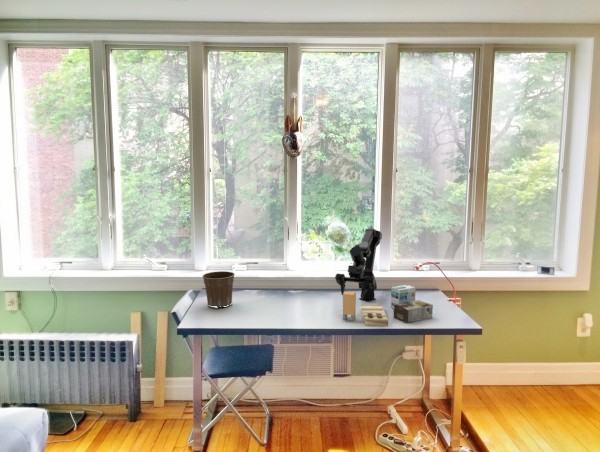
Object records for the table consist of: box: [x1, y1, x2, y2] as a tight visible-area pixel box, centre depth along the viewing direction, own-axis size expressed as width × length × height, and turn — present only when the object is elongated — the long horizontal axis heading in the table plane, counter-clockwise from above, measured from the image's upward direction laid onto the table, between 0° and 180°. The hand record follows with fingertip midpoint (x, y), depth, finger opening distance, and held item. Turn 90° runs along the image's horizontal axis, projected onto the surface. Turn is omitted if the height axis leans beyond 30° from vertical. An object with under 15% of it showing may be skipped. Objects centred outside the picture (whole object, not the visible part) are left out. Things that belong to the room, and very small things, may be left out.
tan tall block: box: [342, 291, 357, 322], centre depth 197 cm, size 4×5×12 cm
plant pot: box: [202, 270, 236, 308], centre depth 219 cm, size 16×16×16 cm
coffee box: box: [393, 299, 434, 324], centre depth 199 cm, size 9×6×16 cm
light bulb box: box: [390, 284, 417, 310], centre depth 213 cm, size 11×7×11 cm, turn 117°
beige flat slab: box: [360, 304, 389, 327], centre depth 200 cm, size 22×10×2 cm, turn 177°
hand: (351, 295), depth 199 cm, fingers open, 9 cm apart
